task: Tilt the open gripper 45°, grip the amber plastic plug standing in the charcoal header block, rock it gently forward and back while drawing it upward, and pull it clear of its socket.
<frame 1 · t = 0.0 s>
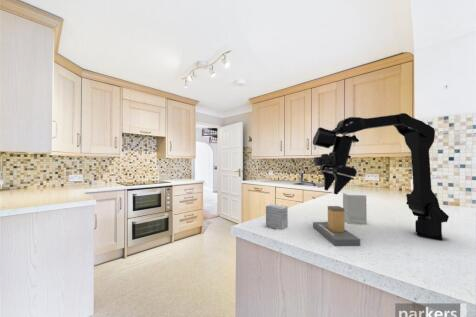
hand: (330, 192, 76), 15 cm above the counter, tool pointing down, fingers open, 9 cm apart
medicine box: (276, 227, 83), on the counter
header: (335, 236, 73), on the counter
supplement box: (354, 223, 89), on the counter
plug: (335, 221, 73), point 5 cm above the counter, slide at 0.0 cm
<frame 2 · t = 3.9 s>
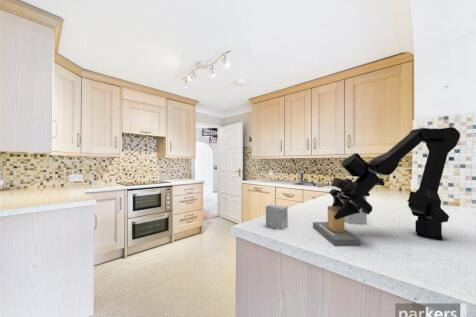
hand: (331, 216, 73), 7 cm above the counter, tool tilted 45°, fingers closed on plug, 4 cm apart
plug: (335, 221, 73), point 5 cm above the counter, slide at 0.0 cm, touching gripper
everything else where it was.
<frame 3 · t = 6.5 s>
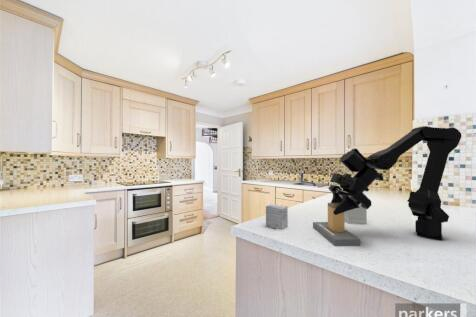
hand: (331, 212, 73), 9 cm above the counter, tool tilted 45°, fingers closed on plug, 4 cm apart
plug: (335, 217, 73), point 7 cm above the counter, slide at 1.2 cm, touching gripper
everything else where it was.
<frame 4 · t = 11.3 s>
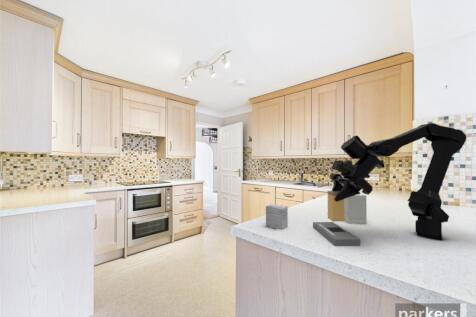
hand: (332, 199, 73), 13 cm above the counter, tool tilted 45°, fingers closed on plug, 4 cm apart
plug: (335, 205, 73), point 11 cm above the counter, slide at 5.5 cm, touching gripper
everything else where it was.
at the end: plug slide at 5.5 cm; the gripper is holding plug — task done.
